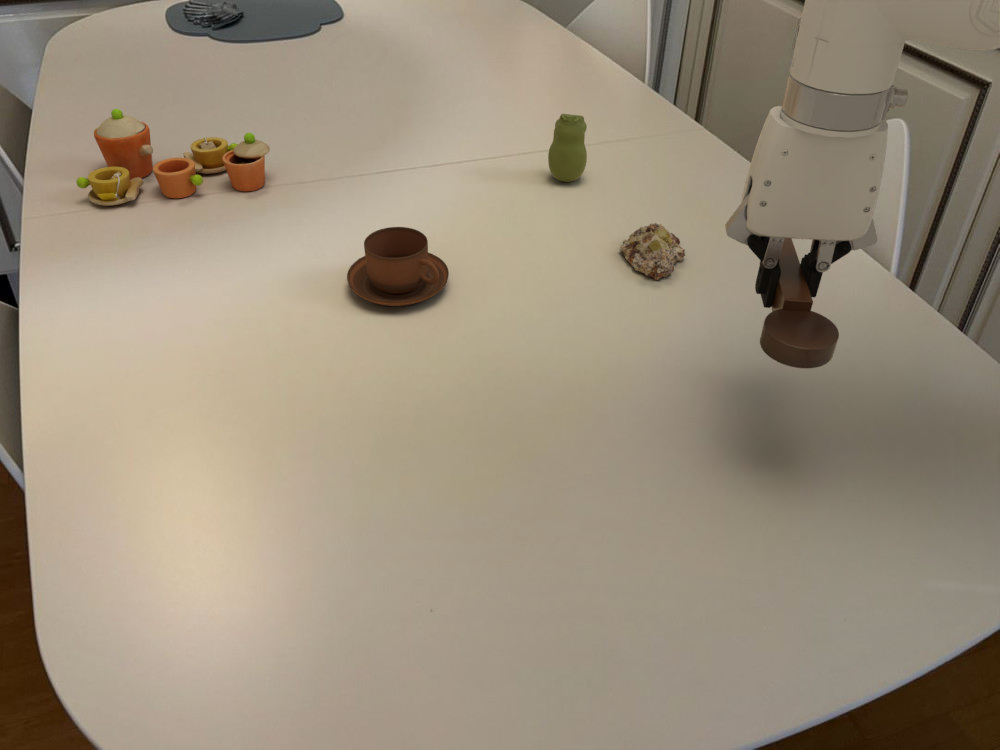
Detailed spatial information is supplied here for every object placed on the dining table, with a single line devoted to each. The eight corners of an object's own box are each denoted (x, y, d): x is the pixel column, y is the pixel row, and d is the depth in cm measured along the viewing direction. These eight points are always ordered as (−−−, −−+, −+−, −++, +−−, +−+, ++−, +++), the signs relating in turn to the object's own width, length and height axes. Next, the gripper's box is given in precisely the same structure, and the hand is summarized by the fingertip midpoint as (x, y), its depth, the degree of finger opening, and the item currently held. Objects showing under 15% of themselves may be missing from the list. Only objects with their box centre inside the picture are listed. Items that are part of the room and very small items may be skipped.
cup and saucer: (461, 269, 106) (461, 225, 102) (429, 322, 97) (427, 276, 93) (371, 255, 108) (367, 211, 104) (332, 305, 99) (325, 259, 95)
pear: (544, 185, 125) (547, 118, 118) (551, 170, 129) (554, 105, 122) (582, 189, 124) (587, 123, 117) (587, 174, 128) (593, 109, 121)
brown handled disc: (839, 371, 69) (849, 341, 68) (764, 366, 70) (772, 336, 68) (803, 266, 82) (811, 239, 80) (740, 262, 83) (746, 235, 81)
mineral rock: (616, 220, 111) (678, 208, 109) (622, 248, 114) (683, 237, 112) (618, 265, 103) (685, 253, 101) (625, 295, 106) (690, 283, 104)
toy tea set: (79, 213, 116) (57, 146, 110) (94, 166, 128) (75, 102, 122) (275, 195, 121) (265, 130, 115) (272, 151, 133) (262, 89, 127)
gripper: (926, 89, 69) (863, 284, 80) (723, 80, 70) (690, 273, 81) (956, 125, 63) (883, 330, 74) (734, 114, 64) (696, 318, 75)
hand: (782, 299), depth 77 cm, fingers closed on brown handled disc, 2 cm apart
